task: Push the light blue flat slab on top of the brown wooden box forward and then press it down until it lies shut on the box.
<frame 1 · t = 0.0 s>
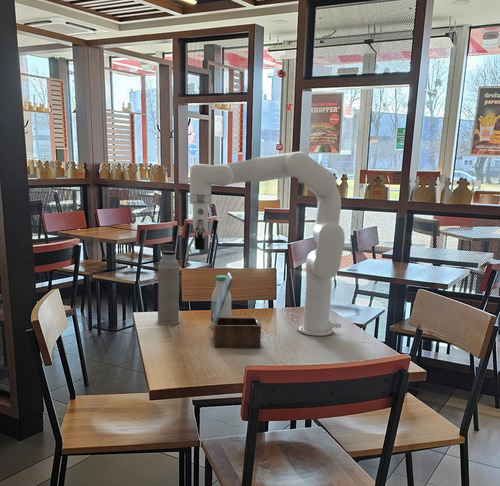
hand: (199, 247, 207), 31 cm above the table, tool pointing down, fingers open, 9 cm apart
light blue flat slab: (222, 297, 197), point 16 cm above the table, hinge at 72.0°
brown wooden box: (235, 343, 201), on the table
milk bottle: (220, 328, 220), on the table
thermos bottle: (168, 323, 223), on the table
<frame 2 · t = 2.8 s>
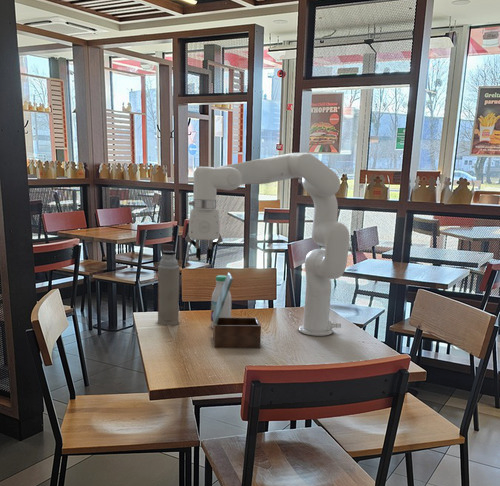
hand: (203, 259, 193), 29 cm above the table, tool pointing down, fingers closed
nothing on the table moved.
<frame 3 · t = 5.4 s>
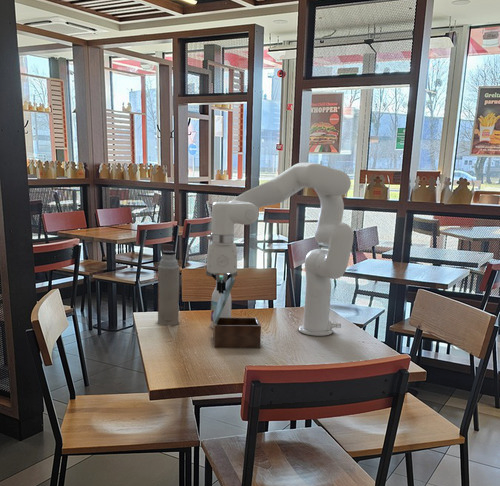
hand: (221, 292, 196), 18 cm above the table, tool pointing down, fingers closed
light blue flat slab: (223, 298, 197), point 16 cm above the table, hinge at 69.2°
everything else where it was.
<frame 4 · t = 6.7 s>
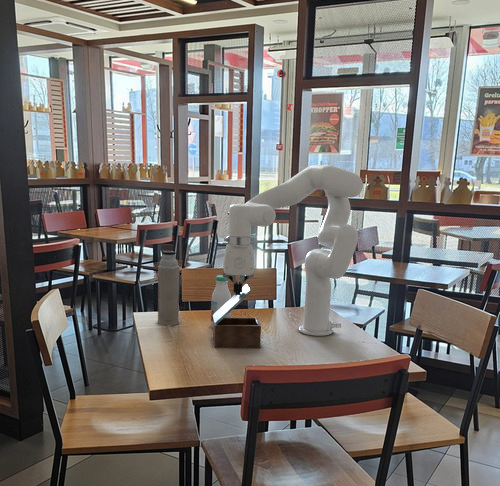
hand: (237, 294, 197), 17 cm above the table, tool pointing down, fingers closed
light blue flat slab: (231, 303, 198), point 14 cm above the table, hinge at 45.0°
everything else where it was.
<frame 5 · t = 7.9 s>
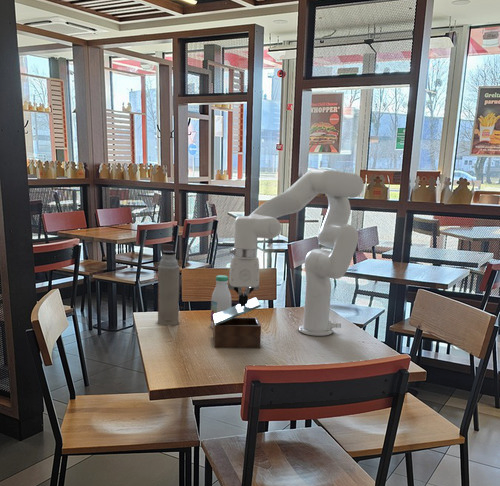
hand: (242, 305, 198), 13 cm above the table, tool pointing down, fingers closed
light blue flat slab: (236, 310, 198), point 12 cm above the table, hinge at 23.8°
everything else where it was.
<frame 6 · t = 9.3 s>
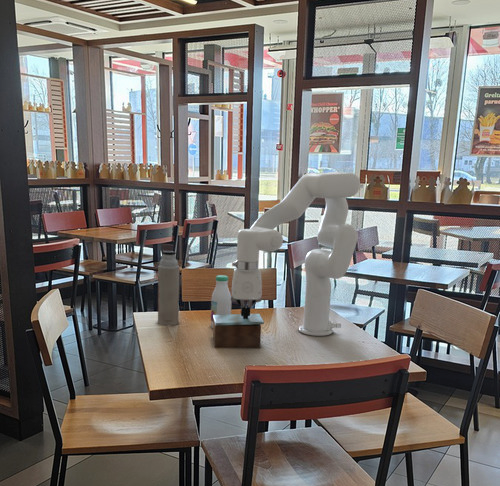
hand: (245, 317, 199), 9 cm above the table, tool pointing down, fingers closed
light blue flat slab: (238, 319, 199), point 9 cm above the table, hinge at 2.1°, touching gripper
everything else where it was.
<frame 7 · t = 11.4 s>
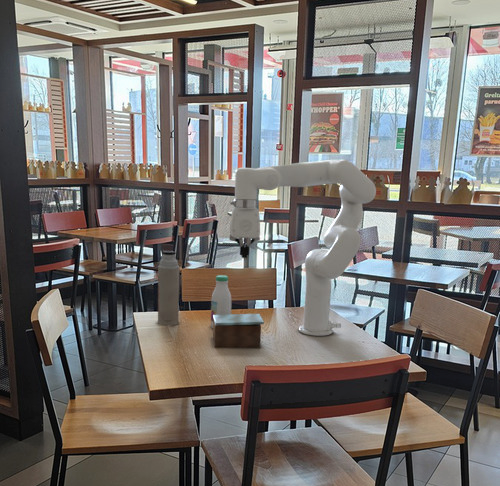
hand: (244, 257, 202), 29 cm above the table, tool pointing down, fingers closed
light blue flat slab: (238, 319, 199), point 9 cm above the table, hinge at 2.0°
everything else where it was.
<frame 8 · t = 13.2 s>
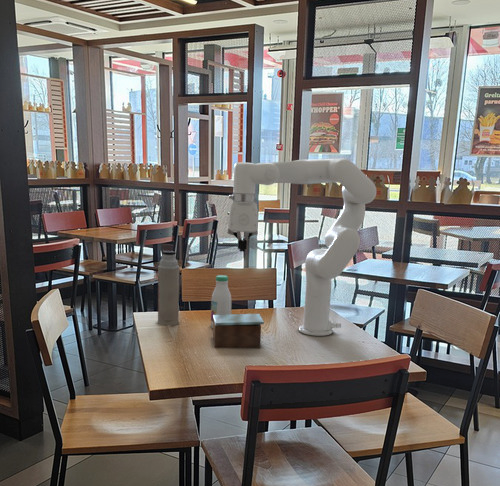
hand: (241, 250, 204), 31 cm above the table, tool pointing down, fingers closed
nothing on the table moved.
at the end: light blue flat slab at +2° (first picture: +72°) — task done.
